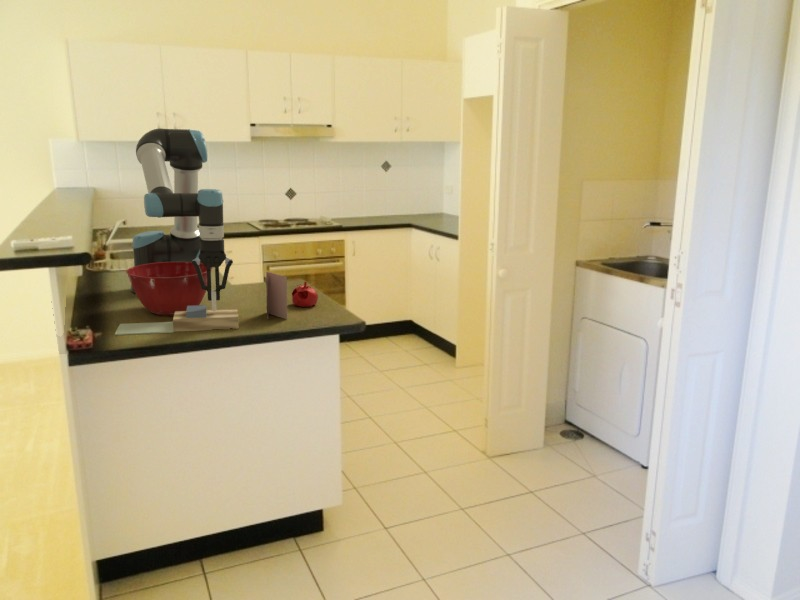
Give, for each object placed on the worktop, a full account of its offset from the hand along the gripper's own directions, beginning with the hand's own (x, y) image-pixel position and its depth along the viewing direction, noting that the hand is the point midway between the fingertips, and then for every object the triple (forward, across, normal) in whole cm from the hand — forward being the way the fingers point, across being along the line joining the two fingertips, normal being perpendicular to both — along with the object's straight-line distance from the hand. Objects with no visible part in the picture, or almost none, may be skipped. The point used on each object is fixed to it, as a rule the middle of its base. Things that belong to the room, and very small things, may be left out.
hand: (214, 309), depth 206 cm
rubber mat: (+5, -21, 0) cm, 22 cm away
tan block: (+5, -2, 0) cm, 6 cm away
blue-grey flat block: (+1, -6, 0) cm, 6 cm away
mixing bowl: (+6, -14, +21) cm, 26 cm away
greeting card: (+6, +20, +8) cm, 23 cm away
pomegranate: (+6, +33, +23) cm, 40 cm away
